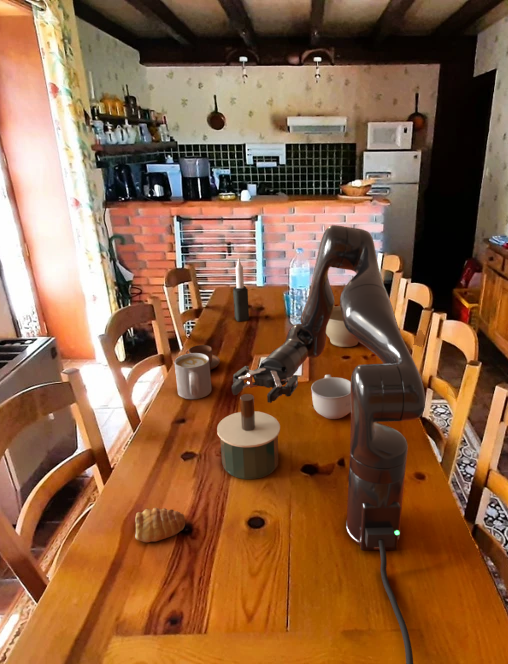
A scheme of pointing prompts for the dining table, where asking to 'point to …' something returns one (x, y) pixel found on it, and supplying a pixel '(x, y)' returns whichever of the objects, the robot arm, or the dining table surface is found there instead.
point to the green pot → (250, 459)
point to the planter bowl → (339, 330)
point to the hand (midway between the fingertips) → (251, 395)
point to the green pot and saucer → (206, 351)
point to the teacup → (332, 397)
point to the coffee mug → (193, 375)
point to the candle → (240, 295)
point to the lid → (248, 426)
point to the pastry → (158, 524)
